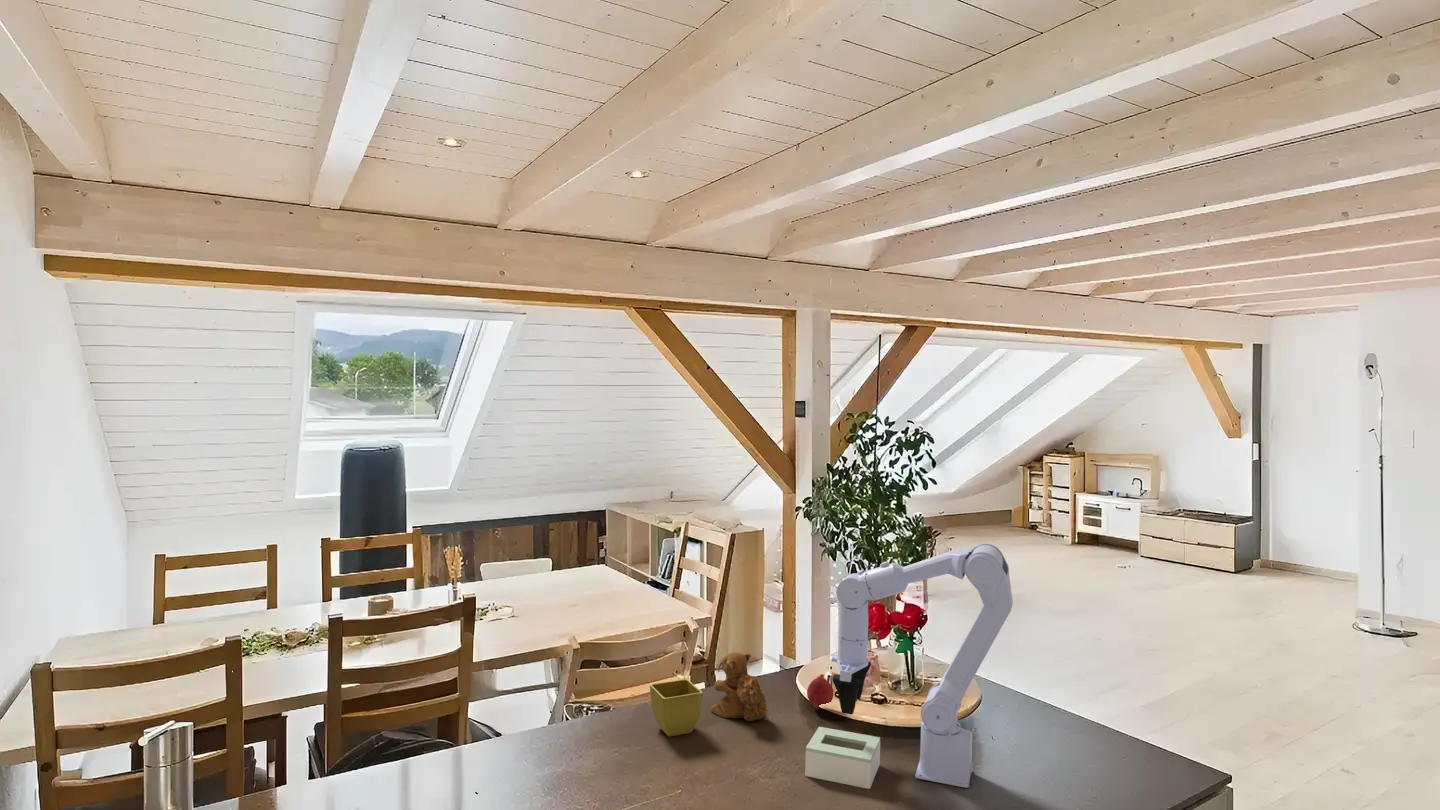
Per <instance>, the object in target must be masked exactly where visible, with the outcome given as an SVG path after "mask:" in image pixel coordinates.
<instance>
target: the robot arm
mask: <svg viewBox="0 0 1440 810" xmlns="http://www.w3.org/2000/svg"><path fill="white" fill-rule="evenodd" d="M1009 566H1010V565H1009V564H1008V562H1007V560H1006V558H1005V556H1004V554H1003V552H1002V550H1000V549H999V548H998V547H997V546H996V545H993V544H992V543H991V544H990V543H980V544H978V545H976V546H974V547H973V546H972V545H971V546H964V547H960V548H958V549H957V548H956V549H953V550H950V551H946V552H944V553H940V554H938V555H934V556H933V557H929V558H926V559H923V560H921V561H917V562H914V563H911V564H908V565H905V566H902V565H901V564H899V563H897V562H891V563H889V561H888V560H887V561H883V562H882V563H880V566H878V567H875V568H872V569H871V568H870V569H867V570H864V569H860V570H858V571H857V573H856V572H855V573H854V572H853V573H850V574H848V575H847V576H845V578H844V579H843V580H841V581H840V582H839V584H838V585H837V587H836V591H835V592H836V594H835V595H836V598H837V600H838V602H839V609H838V610H839V612H838V628H837V629H838V632H837V633H838V634H837V655H836V654H834V655H832V656H831V661H832V662H834V663H836V664H837V666H838V669H839V674H838V673H837V674H836V673H834V674H833V675H832V683H833V685H834V687H835V689H836V692H837V696H838V699H839V705H840V710H841V713H842V714H845V715H854V712H855V708H856V703H857V700H858V701H860V700H861V698H862V695H863V689H864V685H865V679H866V678H867V677H866V676H867V673H868V672H869V670H870V668H871V666H872V662H871V661H869V659H868V653H869V652H868V650H869V649H868V648H869V647H868V645H869V644H868V643H869V642H868V641H869V601H874V602H875V601H876V600H881V599H885V598H888V597H890V596H894V595H899V594H902V593H904V592H906V590H907V587H908V585H909V584H912V583H916V582H920V581H924V580H928V579H933V578H936V577H940V576H945V575H951V576H953V577H955V578H957V579H959V580H963V579H964V577H965V576H966V578H967V579H968V581H969V582H970V583H971V584H972V586H973V587H974V588H975V589H976V590H977V592H978V594H979V596H980V599H981V602H982V606H981V608H980V610H979V612H978V614H977V615H976V617H975V619H974V621H973V623H972V625H971V627H970V628H969V630H968V631H967V633H966V636H965V637H964V638H963V640H962V643H961V644H960V646H959V648H958V650H957V652H956V653H955V655H954V657H953V659H952V661H951V662H950V664H949V666H948V667H947V669H946V671H945V673H944V674H943V675H942V677H941V679H940V680H939V681H938V682H937V683H936V684H933V685H932V686H931V687H930V688H929V690H928V691H927V696H926V699H925V701H924V703H923V705H922V706H921V710H920V718H921V721H920V744H919V745H920V750H919V751H920V753H919V762H918V764H917V768H916V771H915V775H914V778H916V779H918V780H924V781H929V782H933V783H939V784H945V785H949V786H956V787H960V788H966V789H967V788H969V787H970V781H971V776H972V773H973V768H974V767H973V766H974V762H973V761H972V756H973V731H971V730H969V729H968V730H967V729H964V728H963V727H962V724H961V723H960V721H959V720H958V714H959V711H960V709H961V706H962V700H963V698H964V697H965V695H966V694H965V693H966V692H967V690H968V688H969V686H970V685H971V682H973V681H972V680H973V679H974V678H975V676H976V673H977V672H978V670H979V668H980V667H981V665H982V663H983V661H984V660H985V658H986V656H987V654H988V652H989V651H990V649H991V647H992V645H993V643H994V642H995V640H996V638H997V636H998V634H999V633H1000V631H1001V629H1002V627H1003V625H1004V624H1005V622H1006V621H1007V619H1008V618H1009V615H1010V613H1011V611H1012V608H1013V605H1014V602H1013V599H1014V598H1013V593H1012V585H1011V580H1010V569H1009Z"/></svg>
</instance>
